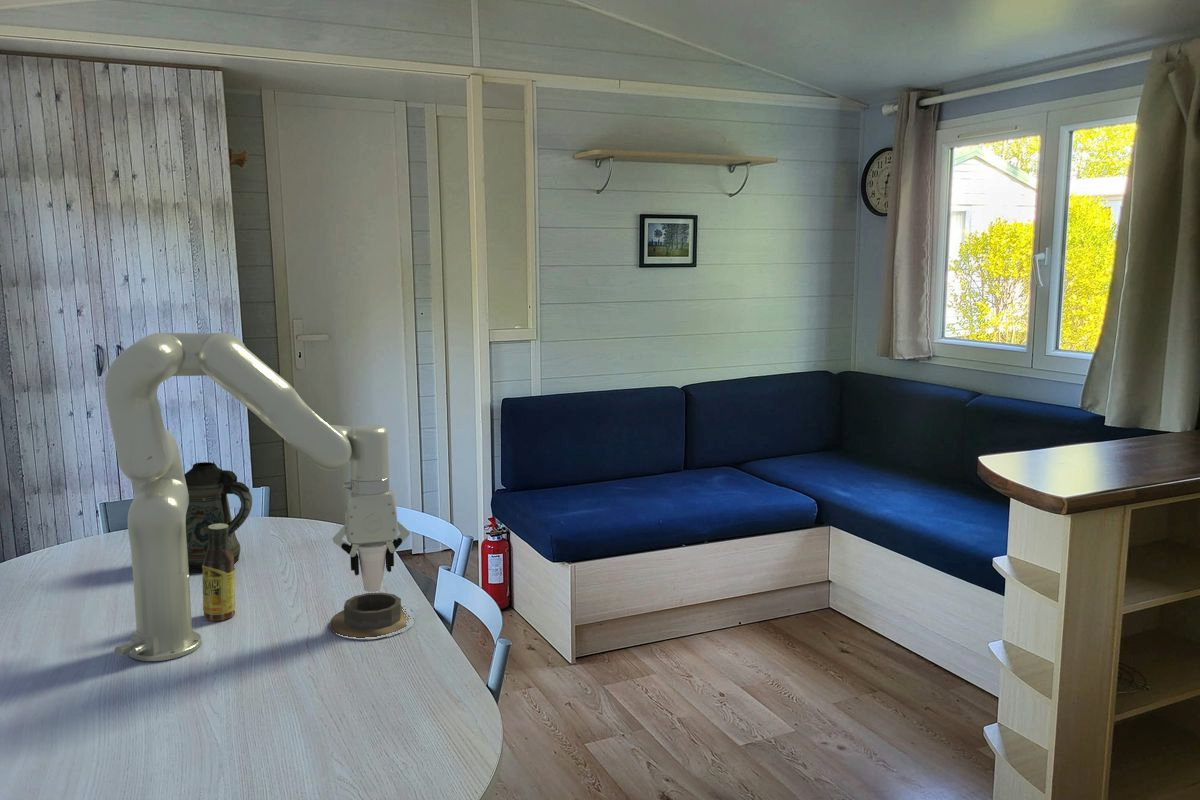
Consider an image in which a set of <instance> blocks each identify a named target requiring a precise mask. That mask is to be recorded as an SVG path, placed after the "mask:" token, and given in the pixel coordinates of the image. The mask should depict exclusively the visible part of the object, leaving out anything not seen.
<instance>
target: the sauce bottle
mask: <svg viewBox="0 0 1200 800" xmlns="http://www.w3.org/2000/svg"><path fill="white" fill-rule="evenodd" d="M228 532H229V526H228V525H227V524H222V523H219V524H212V525H209V526H208V529H207V533H208V535H209V537H208V538H209V544H208V549H207V552H206V555H205V558H204V562H203V565H202V573H201V574H202V611H203V617H204V619H205V620H206V621H209V622H222V621H225V620H228V619H232V618H233V617H234V616H235V614H236V568H235V565H234V555H233V553H232V552H231V550H230V549H229V546H228Z"/></svg>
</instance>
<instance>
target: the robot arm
mask: <svg viewBox="0 0 1200 800" xmlns="http://www.w3.org/2000/svg"><path fill="white" fill-rule="evenodd" d="M192 376H193V377H198V376H200V377H202V376H203V377H205V376H207V377H208V378H209V379H211V380H212V381H214V383H216V384H217V385H219V387H221V388H222V389H224V391H226V392H227V393H229V394H230V395H231V396H232V397H234V398H235V400H237V401H239V402H240V403H241V404H243V406H245V407H246V408H247V409H248V410H250V412H252V413H253V414H255V416H257V417H258V418H259V419H260V420H261V421H262V422H263V423H264V424H265V425H267V426H268V427H269V428H270V429H272V430H273V431H274V432H275V433H277V434H278V436H280V437H281V438H282V439H283V440H284V441H286V442H287V443H288V444H289V445H290V446H291V447H293V449H295V450H296V451H297V452H299V454H301V455H302V456H303V457H305V458H306V459H308V461H310V462H311V463H312V464H314V465H315V466H316V467H318V468H320V469H322V470H324V471H329V472H334V471H338V470H340V469H342V468H344V467H345V466H346V465H347V464H348V463H349V462H350V465H349V467H350V479H349V480H348V481H345V482H343V490H349V491H350V492H348V493H347V498H346V506H345V522H344V523H345V524H344V525H343V526H342V527H340V529H339V530H338V531H337V533H335V535H334V536H333V537H332V542H333V543H334V544H335V545H336V546H337V547H340V548H341V550H343V552H346V553H347V555H349V556H350V571H353V572H354V575H355V576H356V577H357V576H359V575H360V561H359V554H358V551H357V550H358V547H359V544H368V543H378V542H386V544H387V546H388V548H387V549H386V558H385V569H386V571H387V572H388V573H391V572H392V567H394V566H395V553H396V550H397V549H398V547H400V546H401V545H402V544H403V542H404V541H405V540H406V539H407V538H408V537H409V536H410V534H411V533H410V531H409V530H408V529H407V528H406V527H405V526H404V525H403V524H402V523H401V522H400V521H398V512H397V504H396V502H397V501H396V498H395V494H394V491H393V490H391V489H390V469H389V468H390V467H389V465H390V464H389V463H390V462H389V460H390V459H389V435H388V430H387V428H386V427H384V426H382V425H380V424H379V425H378V424H362V425H356V426H348V425H346V426H345V425H338V424H337V425H336V424H329V423H328V422H327V421H325V420H324V419H323V418H322V417H320V416H319V415H318V414H317V413H316V412H315V411H314V410H313V409H312V408H311V407H309V405H308V404H307V403H306V402H305V401H304V400H303V399H302V397H301V396H300V395H299V393H298V392H297V390H295V388H294V387H293V386H292V384H290V383H289V382H288V381H287V380H286V379H284V378H283V377H282V376H280V374H278V373H277V372H276V371H274V370H273V369H272V368H270V367H269V365H267V364H266V363H264V361H262V359H260V358H259V357H257V355H256V354H254V352H252V351H251V350H249V349H248V348H247V347H246V345H245V343H244V342H243V341H242V340H241V338H239V337H238V336H236V335H234V334H232V333H227V332H200V333H198V332H155V333H151V334H148V335H146V336H144V337H142V338H140V339H138V340H137V341H135V343H132V344H131V345H129V347H127V348H126V349H125V350H123V351H122V352H121V353H119V355H118V356H117V357H115V359H114V360H113V361H112V363H111V365H110V366H109V369H108V370H107V372H106V376H105V380H104V395H105V396H104V397H105V402H106V407H107V412H108V416H109V421H110V422H109V423H110V429H111V431H112V436H113V441H114V445H115V450H116V455H117V462H118V465H119V468H120V470H121V472H122V473H123V475H124V476H125V477H126V478H128V479H129V480H130V482H131V488H132V490H133V496H134V498H133V500H132V502H131V503H130V507H129V509H128V514H127V530H128V533H127V534H128V540H129V545H130V553H131V568H132V579H133V597H134V612H135V627H136V630H134V631H133V632H131V638H130V639H128V641H127V642H124V643H122V644H119V645H118V646H115V648H114V654H115V655H116V656H117V657H123V656H125V655H126V654H128V655H129V657H130V658H132V659H133V660H136V661H141V662H162V661H169V660H173V659H177V658H180V657H183V656H186V655H188V654H190V653H193V652H194V651H196V650H197V649H198V648H200V646H201V644H202V636H201V634H199V632H197V631H194V630H193V626H192V625H193V624H192V607H191V587H190V573H189V566H188V550H187V538H186V513H187V508H188V504H189V495H188V489H187V485H186V480H185V476H184V474H185V473H184V468H183V464H182V458H181V454H180V453H181V452H180V450H179V445H178V442H177V440H176V438H175V436H174V435H173V434H172V432H170V430H169V429H167V428H165V425H164V421H163V416H162V410H161V404H160V402H159V399H158V389H159V386H160V385H161V384H162V383H163V382H164V381H165V382H166V381H167V380H169V379H171V377H192ZM399 532H400V534H399ZM345 536H346V541H347V542H346V541H344V540H343V538H344V537H345Z"/></svg>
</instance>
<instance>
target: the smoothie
mask: <svg viewBox="0 0 1200 800" xmlns="http://www.w3.org/2000/svg"><path fill="white" fill-rule="evenodd" d="M387 548H388V546H387V544H386V542H378V543H368V544H359V547H358V550H357V554H358V557H359V568H360V572H361V578H362V579H361V580H362V586H363V590H364V591H365V592H368V593H376V592H379V591H382V589H383V584H384V576H385V569H386V549H387Z"/></svg>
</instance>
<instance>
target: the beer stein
mask: <svg viewBox="0 0 1200 800" xmlns="http://www.w3.org/2000/svg"><path fill="white" fill-rule="evenodd" d="M184 476H185V480H186V485H187V489H188V495H189V504H188V508H187V513H186V538H187V550H188V566H189V574H202V565H203V562H204V558H205V555H206V552H207V549H208V544H209V538H208V537H209V535H208V533H207V529H208V526H209V525H212V524H219V523H222V524H227V525H228V526H229V532H228V546H229V549H230V550H231V552H232V553H233V555H234V564H235V563H236V562H237V561H238V560H239V559H240V553H241V545H240V542H239V541H238V539H237V536H236V531H237V530H238V529H239V528H240V527H241V526H242V525H243V524H244V523H245V522H246V520H247V518H248V517H249V515H250V514H251V510H252V507H253V496H252V494H251V493H252V492H250V488H249V487H248V486H247V485H246V484H245V483H244V482H241V481H238V476H237V475H236V474H235V472H234V471H232V470H225V469H221V468H219V467H218V466H217V464H216V463H215V462H206V461H204V462H196V463H194V464H193V465H192V467H191V469H189V470H188V471H187V472H185V473H184ZM228 495H235V496H236V497H238V498H239V501H240V508H239V510H238V512H237V514H236V516H234V518H233V517H232V514H231V508H230V503H229V497H228ZM232 518H233V519H232ZM238 562H239V561H238ZM238 562H237V563H238ZM237 563H236V564H237ZM236 564H235V565H236Z"/></svg>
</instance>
